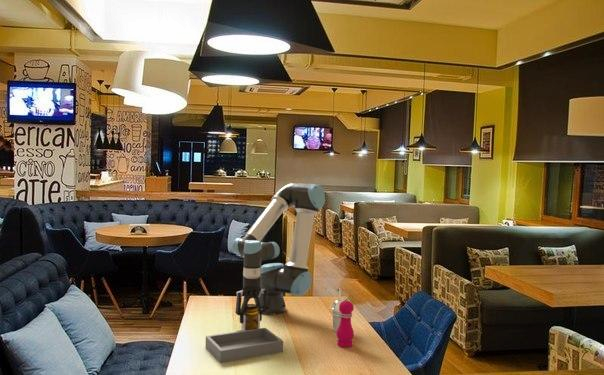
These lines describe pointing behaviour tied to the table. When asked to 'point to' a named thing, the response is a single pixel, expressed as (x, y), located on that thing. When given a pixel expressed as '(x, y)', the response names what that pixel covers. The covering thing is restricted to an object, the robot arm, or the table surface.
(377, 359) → the table surface
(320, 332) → the table surface
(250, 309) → the condiment
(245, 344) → the tray
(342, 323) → the pepper mill
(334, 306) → the cup with straw
